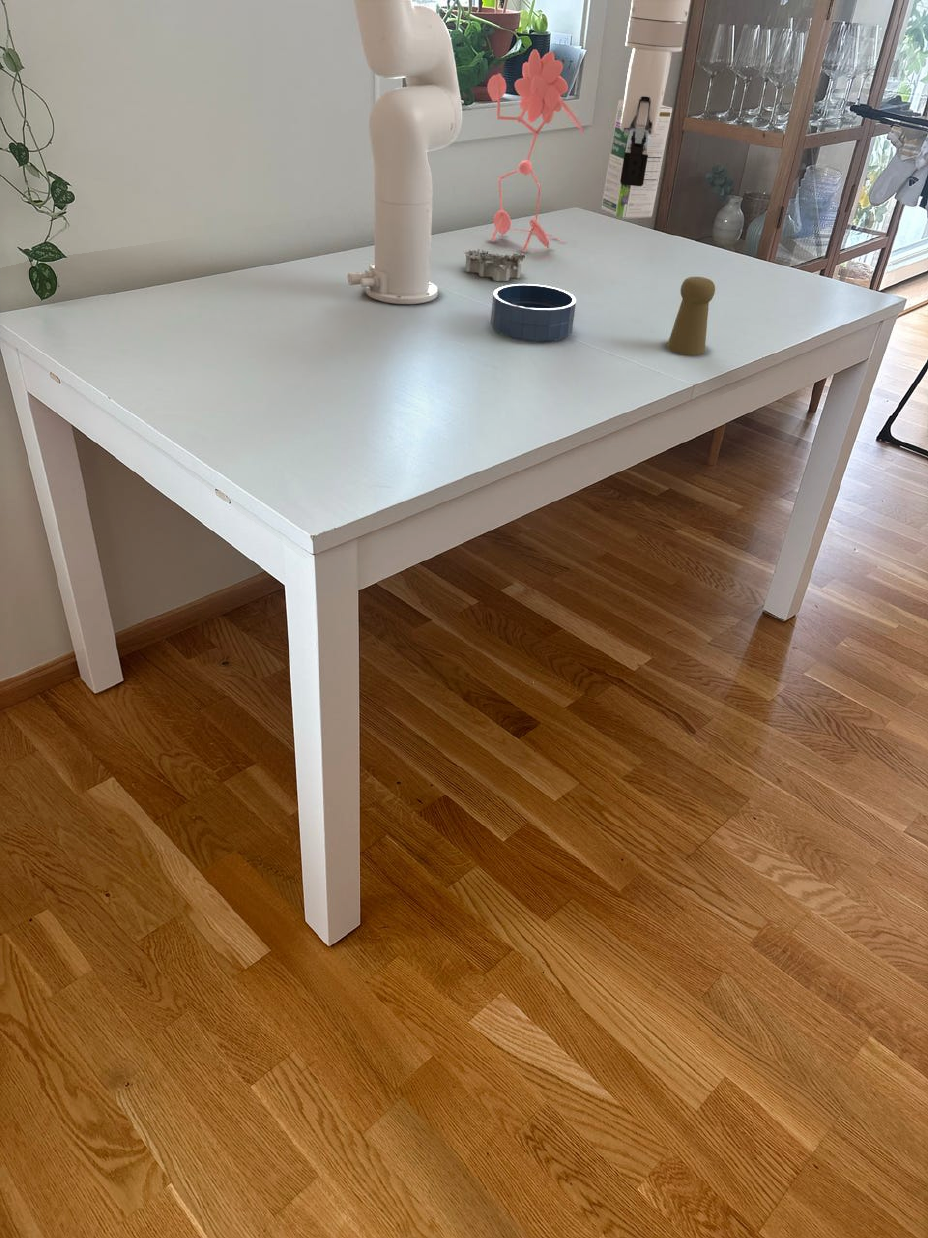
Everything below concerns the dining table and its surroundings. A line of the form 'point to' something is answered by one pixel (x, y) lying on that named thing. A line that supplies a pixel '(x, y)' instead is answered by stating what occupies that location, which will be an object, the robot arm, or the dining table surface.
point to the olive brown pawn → (692, 317)
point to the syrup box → (642, 198)
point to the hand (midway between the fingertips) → (632, 178)
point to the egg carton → (494, 264)
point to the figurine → (532, 119)
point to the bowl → (533, 312)
